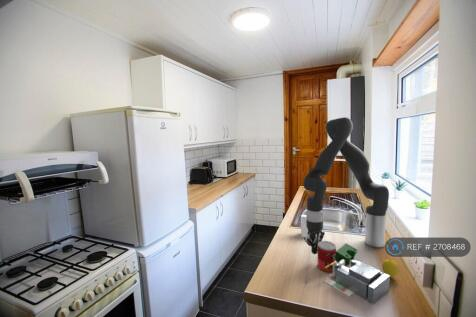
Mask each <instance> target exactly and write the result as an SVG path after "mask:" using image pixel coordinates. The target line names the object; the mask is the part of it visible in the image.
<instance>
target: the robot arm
mask: <svg viewBox="0 0 476 317" xmlns="http://www.w3.org/2000/svg"><path fill="white" fill-rule="evenodd" d="M325 124H326V125H325V130H326V133H327V135H328V137H329V139H330V142H329V143H328V145H327V146H326V147H325V148H324V149H323V150H322V151H321V153H320V154H319V156H318V158H317V160H316V162H315V164H314V166H313V167H312V169H311V170H310V171H309V172H308V173H307V174H306V176H305V177H304V179H303V188H304V190H306V191H308V192H312V193H314V194H313V195H311V196H308V197H307V198H306V214H305V215H306V227H307V229H308V233H307V234H308V235H307V237H304V238H303V240H304V241H305V243H306V244H307V245H308V246H310V247H311V251H310V252H311V253H312V254H313V255H318V242H320V241H323V239H324V237H325V234H326V233H325V232H324V231H322V230H323V229H324V211H323V210H324V207H323V202H324V198H325V195H326V191H327V188H328V187H327V181H326V180H325V179H324V178H322V177H323V176H327V175H328V174H329V173H330V170H331V168H332V167H333V164H334V161H335V159H336V157H337V155H338V154H339V153H341V156H342V157H343V159H344V160H345V163H346V164H347V166H348V167H349V169H350V171H351V172H352V174H353V175H354V178H355V179H356V180H357V182H358V185H359V187H360V189H361V192H362V194H363V196H364V197H365V198H366V199H367V200H371V201H373V204H372V205H368V206H366V207H365V226H364V227H365V228H364V229H365V230H364V242H365V244H366V245H368V246H370V247H374V248H383V247H385V238H386V237H385V236H386V218H387V217H386V216H387V211H388V207H389V199H390V198H389V197H390V191H389V189H388V187H387V186H385V185H383V184H379V183H376V182H374V181H373V180H372V178H371V177H370V175H369V171H370V162H369V160H368V158H367V157H366V155H365V153H364V152H363V151H362V150H361V149H360V148H359V147H357V146H356V145H355V144H354V143H352V142H351V141H349V140H348V138H349V137H350V135H351V133H352V132H353V128H354V127H353V126H354V125H353V122H352V120H351V119H350V118H349V117H338V118H335V119H331V120H329V121H327V122H326V123H325Z"/></svg>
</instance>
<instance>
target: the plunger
mask: <svg viewBox="0 0 476 317" xmlns="http://www.w3.org/2000/svg"><path fill="white" fill-rule="evenodd" d="M345 265H346V263H345V260H343V259H342V260H341V261H340V262H339V263H337V261H334V262H333V263H331V264H329V265H327V266H326V267H325V268H326V269H327V268H329V267H331V266H333V272H332V274H331V275H332V276H333V278H336V277H337V269H338V268H341V269H343V270H345V271H347V272H349V268H350V267H347V266H345Z"/></svg>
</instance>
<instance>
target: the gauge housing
mask: <svg viewBox="0 0 476 317" xmlns="http://www.w3.org/2000/svg"><path fill="white" fill-rule="evenodd" d="M348 268H349V272H347V271H345V270H343V269H341V268H338V269H337V277H335V279H336V281H335V282H337V283H339V284H340V285H342V286H344V287H346V288H347V289H349V290H350V291H352V292H354V293H353V294H354V295H356V296H358V297H360V298H362V299H363V300H365V301H367V302H368V303H371V304H372V305H374V304H375V303H376V302H377V301H378V300H380V299H381V298H382V297H383V296H384V295H385V294H387V293H388V292H389V291H390V281H391V280H390V279H391V277H390V276H389V275H387V274H385V273H384V272H383V271H381V270H380V269H377V268H375V267H373V266H371V265H368V264H366V263H364V262H361V261H358V260H356V259H355V258H354V259H353V260H350V267H348Z"/></svg>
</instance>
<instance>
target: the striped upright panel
mask: <svg viewBox="0 0 476 317" xmlns="http://www.w3.org/2000/svg"><path fill="white" fill-rule="evenodd" d="M323 281H324V283H326V284H328V285H329V286H331V287H333V288H334V289H336V290H338V291H339V292H341V293H343V294H345V295H346V296H348V297H351V296H352V295H353V294H355V293H354V292H352V291H350V290H349V289H347V288H346V287H344V286H342V285H340V284H339V283H337V282H336V281H335V280H332V279H331V278H329V277H327V278H326V279H325V280H323Z"/></svg>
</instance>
